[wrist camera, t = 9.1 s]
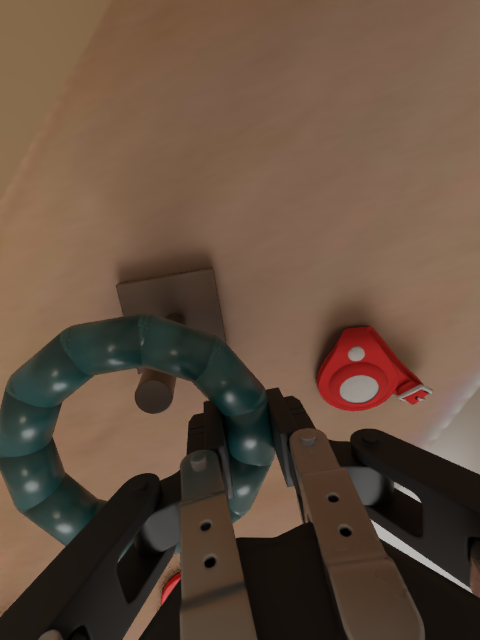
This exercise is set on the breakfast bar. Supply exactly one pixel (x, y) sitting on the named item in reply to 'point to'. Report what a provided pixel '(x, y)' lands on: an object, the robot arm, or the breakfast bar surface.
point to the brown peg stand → (177, 305)
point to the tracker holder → (366, 373)
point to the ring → (110, 356)
